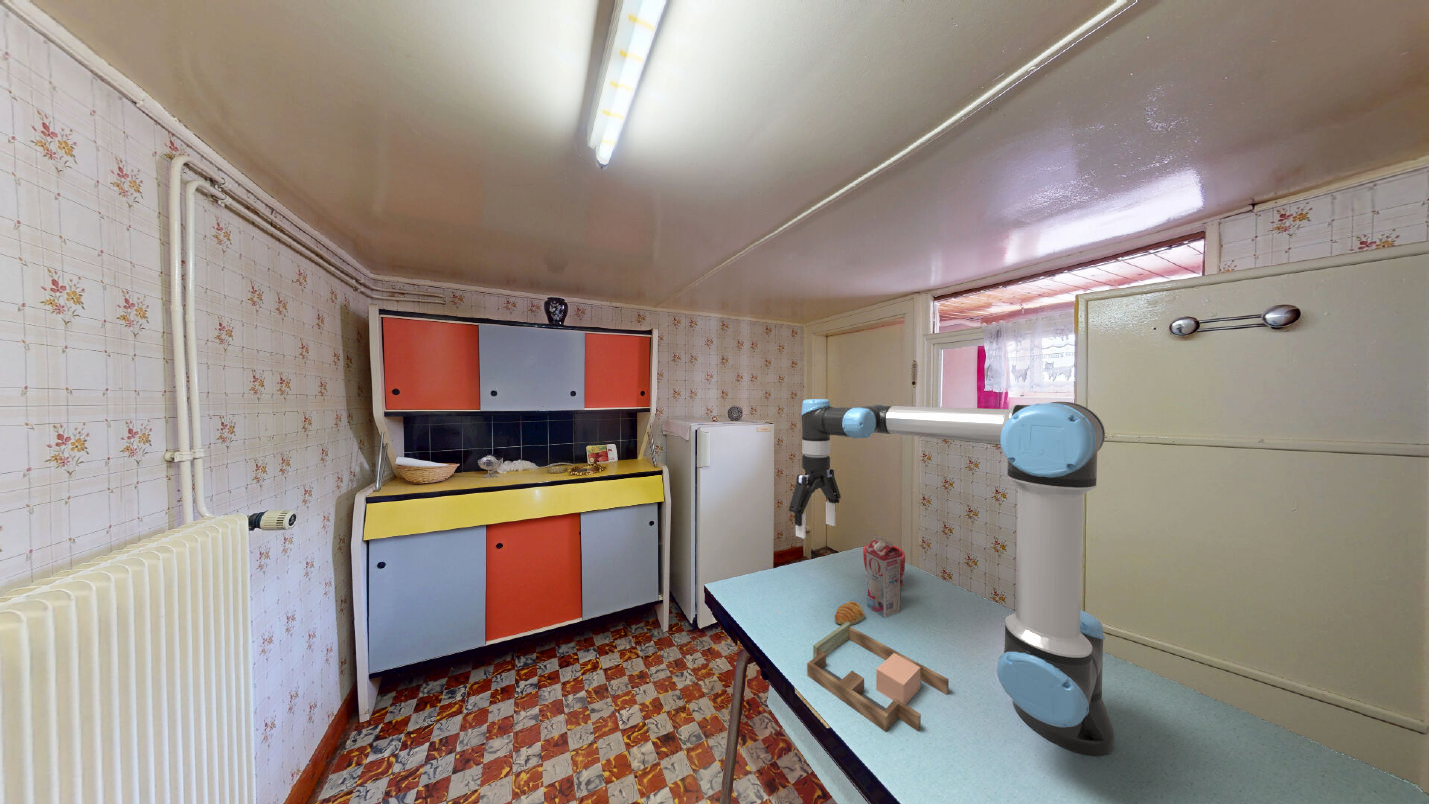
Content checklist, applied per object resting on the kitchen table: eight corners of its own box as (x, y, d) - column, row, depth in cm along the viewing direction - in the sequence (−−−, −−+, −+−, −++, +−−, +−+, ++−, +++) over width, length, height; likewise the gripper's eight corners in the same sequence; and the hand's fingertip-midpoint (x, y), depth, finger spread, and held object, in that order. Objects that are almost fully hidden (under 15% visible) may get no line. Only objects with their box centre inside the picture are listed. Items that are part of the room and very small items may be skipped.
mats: (893, 714, 79) (893, 713, 79) (883, 725, 76) (883, 724, 76) (823, 667, 92) (823, 666, 92) (813, 676, 89) (813, 674, 89)
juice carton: (883, 617, 111) (884, 543, 111) (866, 605, 117) (866, 535, 117) (900, 612, 114) (900, 540, 113) (882, 600, 120) (882, 532, 119)
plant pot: (858, 574, 137) (858, 541, 137) (896, 575, 136) (896, 542, 135) (869, 594, 124) (869, 558, 124) (911, 595, 123) (912, 559, 122)
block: (920, 688, 85) (920, 667, 85) (903, 708, 80) (903, 685, 80) (893, 673, 90) (893, 652, 90) (876, 690, 85) (876, 668, 85)
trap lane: (948, 692, 84) (948, 674, 84) (906, 746, 72) (906, 726, 71) (847, 635, 104) (847, 621, 103) (800, 670, 91) (800, 654, 91)
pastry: (849, 632, 106) (849, 618, 105) (828, 620, 111) (828, 608, 111) (866, 618, 111) (866, 605, 111) (846, 608, 117) (846, 596, 116)
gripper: (830, 448, 116) (830, 516, 116) (775, 458, 100) (775, 538, 101) (853, 451, 110) (853, 523, 111) (797, 463, 94) (798, 547, 95)
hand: (816, 530), depth 106 cm, fingers open, 13 cm apart
